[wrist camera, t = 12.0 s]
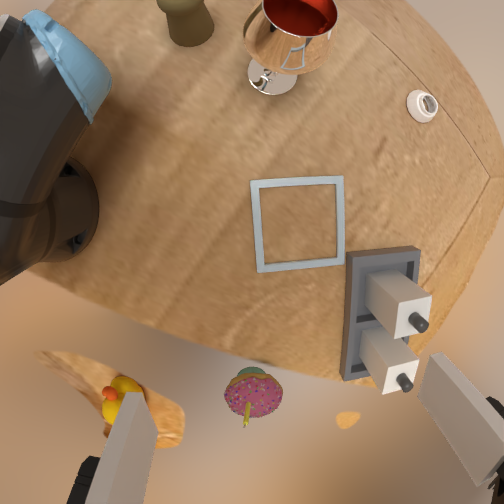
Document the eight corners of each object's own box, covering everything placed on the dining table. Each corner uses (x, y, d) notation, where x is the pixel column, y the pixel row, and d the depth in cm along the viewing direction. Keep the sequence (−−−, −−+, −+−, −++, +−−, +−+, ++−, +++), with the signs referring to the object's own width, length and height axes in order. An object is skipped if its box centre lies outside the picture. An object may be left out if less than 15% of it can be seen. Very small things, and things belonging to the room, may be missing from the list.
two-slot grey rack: (339, 372, 46) (343, 381, 44) (346, 252, 40) (352, 257, 38) (396, 360, 46) (402, 367, 44) (412, 245, 41) (420, 250, 38)
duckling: (106, 357, 43) (84, 395, 34) (135, 358, 43) (117, 398, 34) (126, 406, 46) (112, 444, 37) (153, 407, 47) (142, 448, 37)
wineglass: (311, 59, 33) (363, -5, 16) (292, 111, 35) (339, 69, 17) (252, 38, 32) (265, -41, 14) (231, 90, 34) (228, 30, 16)
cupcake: (215, 382, 45) (212, 438, 34) (244, 347, 44) (248, 402, 32) (259, 402, 47) (265, 455, 35) (289, 370, 45) (303, 424, 34)
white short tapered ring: (435, 120, 36) (425, 89, 34) (446, 119, 33) (436, 86, 31) (410, 124, 36) (401, 92, 34) (422, 123, 33) (411, 88, 32)
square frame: (257, 271, 40) (257, 272, 40) (249, 180, 37) (250, 180, 36) (343, 262, 41) (344, 264, 40) (341, 175, 37) (343, 175, 37)
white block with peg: (364, 304, 42) (402, 349, 30) (366, 273, 41) (408, 312, 29) (393, 299, 42) (435, 340, 30) (395, 269, 41) (442, 303, 29)
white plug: (358, 355, 45) (388, 405, 33) (361, 330, 43) (395, 378, 32) (385, 350, 45) (419, 396, 33) (389, 325, 44) (427, 368, 32)
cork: (218, 13, 30) (213, -31, 20) (209, 48, 32) (200, 10, 21) (175, 10, 30) (158, -31, 19) (164, 45, 31) (142, 9, 21)
